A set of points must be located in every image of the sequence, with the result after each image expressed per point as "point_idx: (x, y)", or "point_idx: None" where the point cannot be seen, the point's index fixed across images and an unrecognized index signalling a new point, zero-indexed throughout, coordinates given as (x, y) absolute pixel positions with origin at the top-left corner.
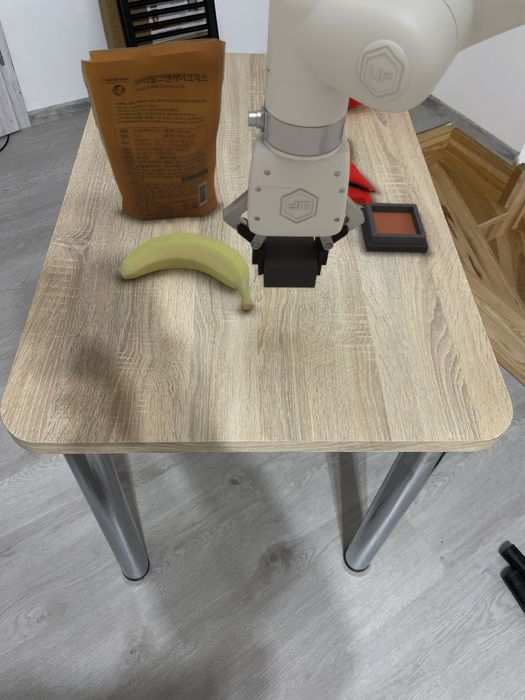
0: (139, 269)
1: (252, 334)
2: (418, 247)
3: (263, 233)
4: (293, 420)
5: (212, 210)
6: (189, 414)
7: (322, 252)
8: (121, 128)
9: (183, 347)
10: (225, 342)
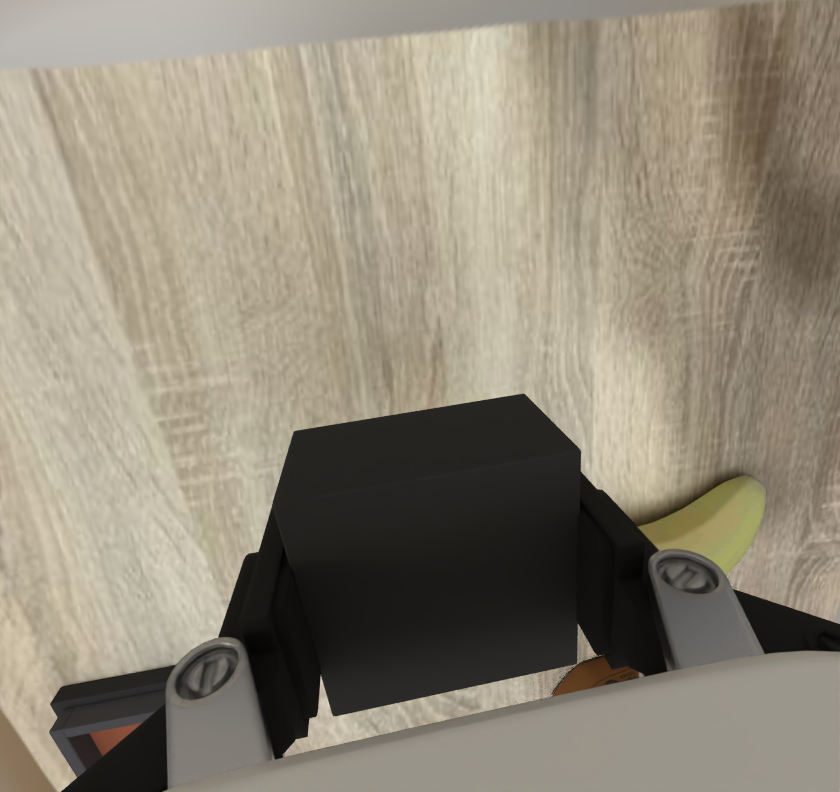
0: (727, 500)
1: (457, 377)
2: (76, 697)
3: (827, 677)
4: (327, 107)
5: (562, 681)
6: (598, 101)
7: (251, 612)
8: None
9: (615, 313)
10: (519, 343)
